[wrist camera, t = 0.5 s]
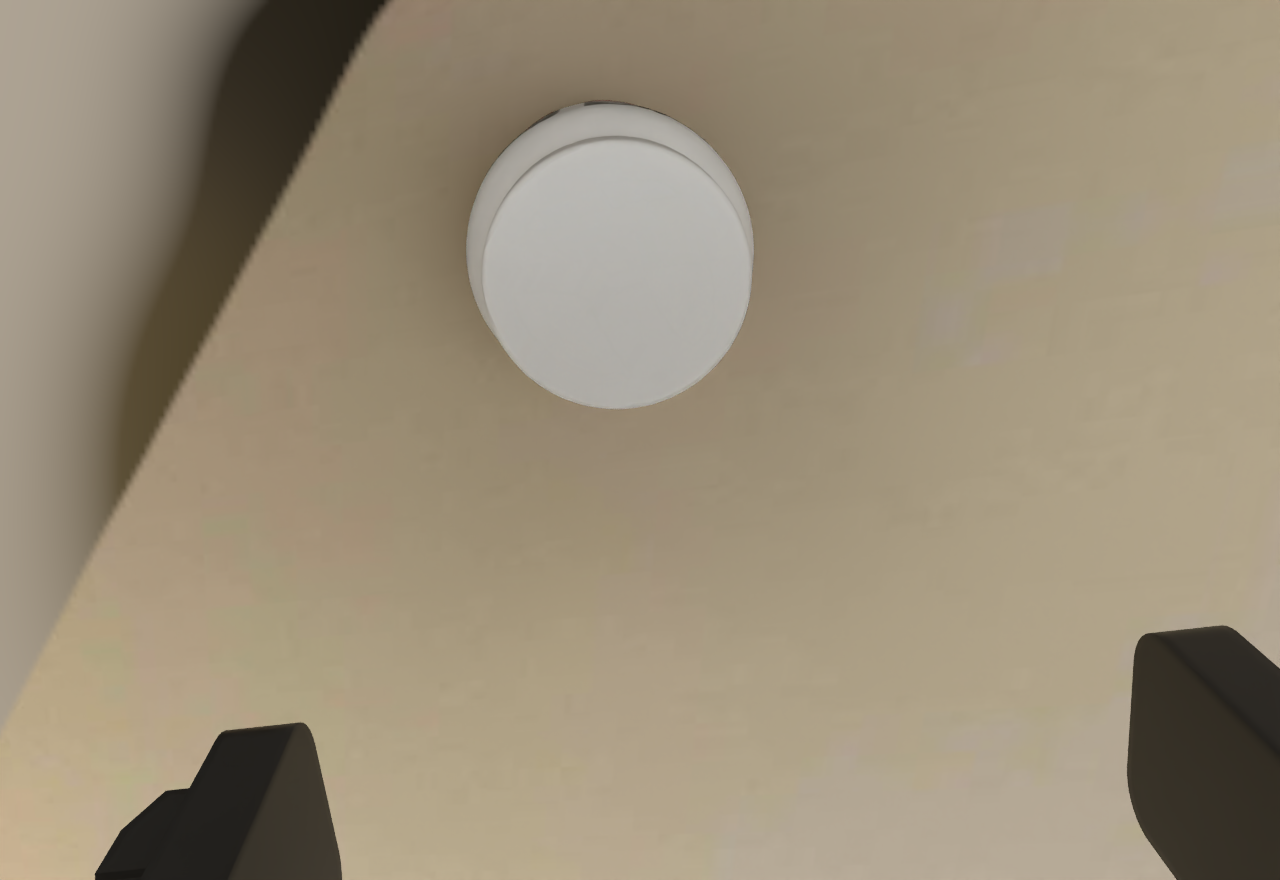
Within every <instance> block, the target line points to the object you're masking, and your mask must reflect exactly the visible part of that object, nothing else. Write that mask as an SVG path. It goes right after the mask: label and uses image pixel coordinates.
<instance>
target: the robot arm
mask: <svg viewBox="0 0 1280 880" xmlns="http://www.w3.org/2000/svg"><path fill="white" fill-rule="evenodd" d="M1127 778H1128V787H1129V793H1130V798H1131V802H1132V806H1133V809H1134V812H1135V815H1136V818H1137V820H1138V822H1139V825H1140V827H1141V829H1142V831H1143V833H1144V835H1145V836H1146V838H1147V839H1148V841H1149V842H1150V843H1151V845H1152V846H1153V848H1154V849H1155V850H1156V852H1157V853H1158V854H1159V856H1160V857H1161V859H1162V860H1163V861H1164V863H1165V864H1166V865H1167V867H1168V868H1169V870H1170V871H1171V872H1172V874H1173V875H1174V876H1175V878H1176V879H1177V880H1280V669H1279V668H1278V667H1277V666H1276V665H1275V664H1274V663H1272V662H1271V661H1270V660H1269V659H1268V658H1267V657H1266V656H1264V655H1263V654H1262V653H1261V652H1260V651H1259V650H1258V649H1256V648H1255V647H1254V646H1253V645H1252V644H1251V643H1249V642H1248V641H1247V640H1246V639H1245V638H1244V637H1243V636H1241V635H1240V634H1239V633H1238V632H1237V631H1235V630H1234V629H1232V628H1230V627H1228V626H1212V627H1203V628H1194V629H1184V630H1175V631H1166V632H1157V633H1148V634H1145V635H1143V636H1142V637H1141V638H1140V640H1139V641H1138V644H1137V646H1136V650H1135V655H1134V666H1133V682H1132V698H1131V714H1130V730H1129V746H1128V763H1127ZM95 880H342V871H341V861H340V855H339V850H338V845H337V841H336V836H335V832H334V827H333V823H332V818H331V814H330V809H329V805H328V800H327V796H326V791H325V787H324V782H323V778H322V773H321V769H320V764H319V760H318V755H317V751H316V746H315V743H314V739H313V736H312V733H311V731H310V729H309V728H308V726H307V725H306V724H304V723H291V724H282V725H273V726H263V727H254V728H245V729H235V730H226V731H224V732H222V733H221V734H220V735H219V736H218V737H217V739H216V741H215V742H214V744H213V746H212V748H211V750H210V752H209V753H208V755H207V757H206V759H205V761H204V763H203V764H202V766H201V768H200V770H199V772H198V774H197V775H196V777H195V779H194V781H193V783H192V785H191V786H190V788H188V789H179V790H169V791H165V792H164V793H163V794H162V795H161V796H160V797H158V798H157V799H156V800H155V801H154V802H153V803H152V804H150V805H149V806H148V807H147V808H146V809H145V810H144V811H143V812H141V813H140V814H139V815H138V816H137V817H136V818H135V819H133V820H132V821H131V822H130V823H129V824H128V825H127V826H125V827H124V828H123V829H122V830H121V831H120V833H119V835H118V836H117V838H116V840H115V841H114V843H113V845H112V846H111V848H110V850H109V851H108V853H107V855H106V856H105V858H104V860H103V861H102V863H101V865H100V866H99V868H98V870H97V871H96V873H95Z"/></svg>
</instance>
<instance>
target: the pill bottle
mask: <svg viewBox="0 0 1280 880" xmlns="http://www.w3.org/2000/svg"><path fill="white" fill-rule="evenodd" d="M466 259H467V268H468V275H469V280H470V285H471V289H472V292H473V295H474V298H475V301H476V303H477V305H478V308H479V310H480V312H481V314H482V316H483V318H484V320H485V322H486V324H487V325H488V327H489V329H490V330H491V332H492V333H493V334H494V336H495V337H496V338H497V340H498V341H499V342H500V344H501V345H502V347H503V349H504V350H505V351H506V353H507V354H508V355H509V357H510V358H511V359H512V361H513V362H514V363H515V364H516V365H517V366H518V367H519V368H520V369H521V370H522V371H523V372H524V373H525V374H526V375H527V376H528V377H529V378H531V379H532V380H533V381H534V382H536V383H537V384H538V385H540V386H541V387H543V388H544V389H546V390H548V391H549V392H551V393H553V394H555V395H557V396H559V397H561V398H563V399H566V400H568V401H571V402H574V403H578V404H581V405H584V406H589V407H595V408H604V409H630V408H637V407H644V406H648V405H652V404H656V403H659V402H661V401H664V400H667V399H670V398H672V397H674V396H676V395H678V394H680V393H682V392H684V391H685V390H687V389H688V388H690V387H692V386H693V385H695V384H696V383H697V382H699V381H700V380H701V379H702V378H704V377H705V376H706V375H707V374H708V373H709V372H710V371H711V370H712V369H713V368H714V367H715V366H716V365H717V364H718V363H719V361H720V360H721V359H722V358H723V356H724V355H725V354H726V353H727V351H728V350H729V349H730V347H731V345H732V344H733V342H734V340H735V338H736V336H737V335H738V333H739V331H740V328H741V326H742V324H743V321H744V318H745V315H746V312H747V308H748V305H749V300H750V294H751V285H752V271H753V261H754V240H753V231H752V224H751V219H750V215H749V211H748V207H747V204H746V202H745V199H744V196H743V194H742V191H741V189H740V187H739V185H738V183H737V181H736V179H735V177H734V176H733V174H732V172H731V171H730V169H729V168H728V166H727V165H726V164H725V162H724V161H723V160H722V159H721V157H720V156H719V155H718V153H717V152H716V151H715V150H714V149H713V148H712V147H711V146H710V145H709V144H708V143H707V142H706V141H705V140H704V139H703V138H701V137H700V136H699V135H697V134H696V133H695V132H694V131H692V130H691V129H690V128H688V127H686V126H685V125H683V124H681V123H680V122H678V121H677V120H675V119H673V118H671V117H669V116H667V115H665V114H662V113H659V112H657V111H654V110H651V109H648V108H644V107H640V106H636V105H633V104H629V103H625V102H618V101H610V100H599V101H588V102H584V103H580V104H576V105H572V106H568V107H565V108H562V109H559V110H557V111H554V112H551V113H549V114H548V115H546V116H544V117H542V118H541V119H539V120H538V121H537V122H535V123H534V124H533V125H531V126H530V127H529V128H528V129H526V130H525V131H524V132H523V133H522V134H521V135H519V136H518V137H517V138H516V139H515V140H513V141H512V143H510V144H509V145H508V146H507V147H506V148H505V149H504V150H503V152H502V153H501V154H500V155H499V156H498V158H497V159H496V160H495V162H494V163H493V164H492V166H491V168H490V169H489V171H488V172H487V174H486V176H485V178H484V180H483V182H482V184H481V186H480V188H479V190H478V192H477V195H476V198H475V201H474V204H473V207H472V211H471V215H470V219H469V223H468V231H467V241H466Z"/></svg>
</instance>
